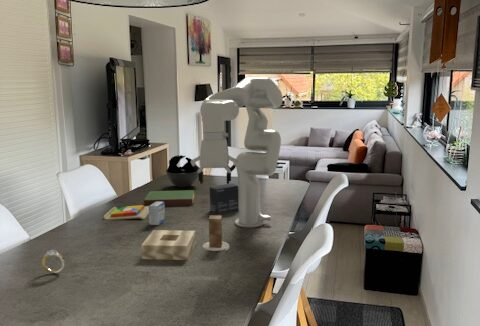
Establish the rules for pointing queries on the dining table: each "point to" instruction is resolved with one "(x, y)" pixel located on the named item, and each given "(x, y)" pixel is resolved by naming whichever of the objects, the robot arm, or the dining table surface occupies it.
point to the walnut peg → (215, 231)
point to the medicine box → (156, 213)
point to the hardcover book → (170, 197)
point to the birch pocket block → (168, 245)
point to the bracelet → (53, 252)
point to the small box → (224, 198)
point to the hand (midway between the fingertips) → (214, 183)
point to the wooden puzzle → (127, 212)
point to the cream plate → (224, 246)
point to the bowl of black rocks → (181, 172)
